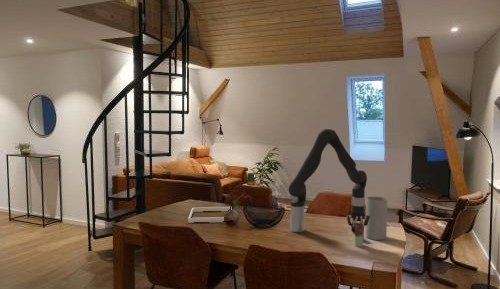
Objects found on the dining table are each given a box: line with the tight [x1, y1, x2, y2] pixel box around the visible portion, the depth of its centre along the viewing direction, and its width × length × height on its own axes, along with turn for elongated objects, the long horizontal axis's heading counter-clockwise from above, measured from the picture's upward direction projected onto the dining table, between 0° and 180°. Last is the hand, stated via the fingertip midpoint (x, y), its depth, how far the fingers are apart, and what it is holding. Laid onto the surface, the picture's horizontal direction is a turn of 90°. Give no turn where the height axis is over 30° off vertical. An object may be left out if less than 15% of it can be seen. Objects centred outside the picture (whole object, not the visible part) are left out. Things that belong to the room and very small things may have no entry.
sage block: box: [351, 233, 364, 248], centre depth 212 cm, size 4×4×6 cm
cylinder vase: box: [365, 196, 388, 241], centre depth 226 cm, size 12×12×25 cm
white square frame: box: [187, 206, 231, 224], centre depth 277 cm, size 32×32×4 cm
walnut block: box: [354, 222, 363, 235], centre depth 212 cm, size 4×4×6 cm
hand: (357, 232), depth 212 cm, fingers closed on walnut block, 4 cm apart
